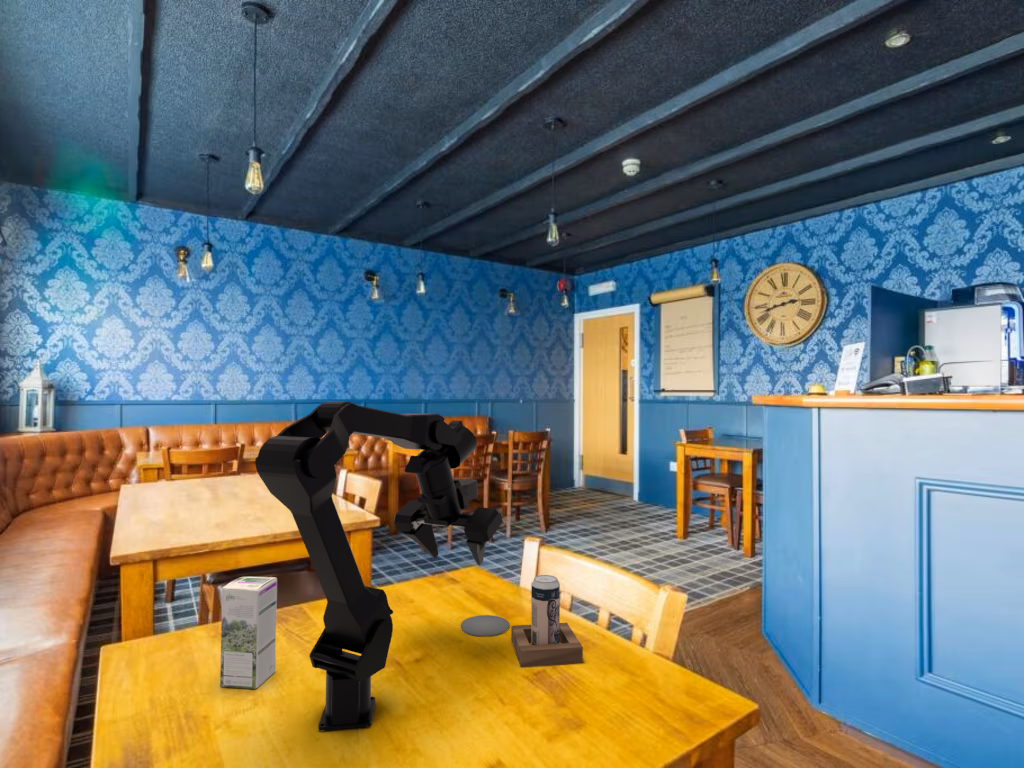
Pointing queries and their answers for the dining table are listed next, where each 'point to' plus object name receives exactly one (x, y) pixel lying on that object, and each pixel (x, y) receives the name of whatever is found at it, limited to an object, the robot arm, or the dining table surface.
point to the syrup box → (248, 632)
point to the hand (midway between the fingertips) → (457, 560)
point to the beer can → (545, 610)
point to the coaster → (484, 625)
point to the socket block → (546, 648)
